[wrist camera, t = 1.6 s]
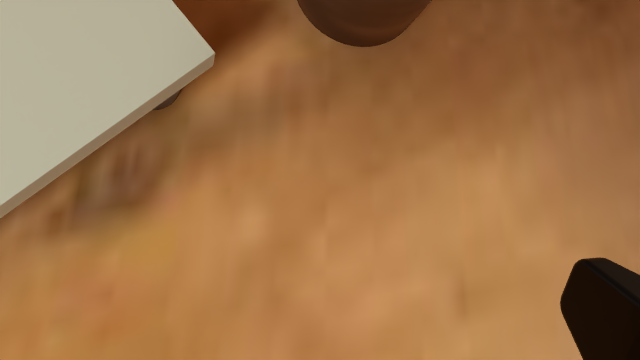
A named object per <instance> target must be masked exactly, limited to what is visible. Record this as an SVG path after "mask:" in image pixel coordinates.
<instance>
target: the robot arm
mask: <svg viewBox="0 0 640 360" xmlns="http://www.w3.org/2000/svg"><path fill="white" fill-rule="evenodd" d="M560 306H561V311H562V314H563V317H564V319H565V321H566V323H567V326H568V328H569V330H570V332H571V334H572V336H573V339H574V341H575V343H576V345H577V347H578V349H579V352H580V354H581V356H582V358H583V360H640V275H638V274H636V273H634V272H632V271H630V270H628V269H626V268H624V267H622V266H620V265H618V264H616V263H614V262H612V261H610V260H608V259H606V258H588V259H581V260H579V261H577V262H576V263H575V265H574V266H573V269H572V271H571V273H570V276H569V278H568V281H567V283H566V286H565V288H564V291H563V293H562V296H561V301H560Z"/></svg>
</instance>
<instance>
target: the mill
mask: <svg viewBox="0 0 640 360" xmlns="http://www.w3.org/2000/svg"><path fill="white" fill-rule="evenodd" d="M431 1H432V0H298V3H299V5H300V7H301V9H302V11H303V13H304V14H305V15H306V17H307V18H308V19H309V21H310V22H311V23H312V24H313V25H314V26H315V27H316V28H317V29H318V30H320V31H321V32H322V33H324V34H325V35H327V36H328V37H330V38H332V39H334V40H336V41H338V42H341V43H344V44H347V45H351V46H359V47H370V46H376V45H380V44H384V43H386V42H389V41H391V40H393V39H394V38H396V37H397V36H399V35H400V34H401V33H402V32H403V31H404V30H405V29H406V28H407V27H408V26H409V25H410V24H411V23H412V22H413V20H414V19H415V18H416V17H417V16H418V15H419V14H420V13H421V12H422V11H423V9H424V8H425V7H426V6H427V5H428V4H429V3H430V2H431Z"/></svg>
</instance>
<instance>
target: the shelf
mask: <svg viewBox="0 0 640 360" xmlns="http://www.w3.org/2000/svg"><path fill="white" fill-rule="evenodd" d="M214 58H215V52H214V51H213V50H212V48H211V47H210V46H209V45H208V43H207V42H206V41H205V40H204V39H203V37H202V36H201V35H200V34H199V33H198V31H197V30H196V29H195V28H194V27H193V25H192V24H191V23H190V22H189V20H188V19H187V18H186V17H185V16H184V14H183V13H182V12H181V11H180V10H179V8H178V7H177V6H176V5H175V4H174V2H173V1H172V0H0V218H2V217H3V216H5V215H6V214H7V213H9V212H10V211H12V210H13V209H14V208H16V207H17V206H18V205H20V204H21V203H23V202H24V201H25V200H27V199H28V198H30V197H31V196H32V195H34V194H35V193H37V192H38V191H39V190H41V189H42V188H44V187H45V186H46V185H48V184H49V183H51V182H52V181H53V180H55V179H56V178H58V177H59V176H60V175H62V174H63V173H64V172H66V171H67V170H69V169H70V168H71V167H73V166H74V165H76V164H77V163H78V162H80V161H81V160H83V159H84V158H85V157H87V156H88V155H90V154H91V153H92V152H94V151H95V150H97V149H98V148H99V147H101V146H102V145H104V144H105V143H106V142H108V141H109V140H111V139H112V138H113V137H115V136H116V135H117V134H119V133H120V132H122V131H123V130H124V129H126V128H127V127H129V126H130V125H131V124H133V123H134V122H136V121H137V120H138V119H140V118H141V117H143V116H144V115H145V114H147V113H148V112H150V111H151V110H159V109H163V108H165V107H167V106H169V105H170V104H172V103H173V102H174V101H175V99H176V98H177V96H178V94H179V90H180V89H182V88H183V87H184V86H186V85H187V84H189V83H190V82H191V81H193V80H194V79H196V78H197V77H198V76H200V75H201V74H203V73H204V72H205V71H207V70H208V69H210V68H211V67H212V66H213V65H214Z"/></svg>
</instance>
